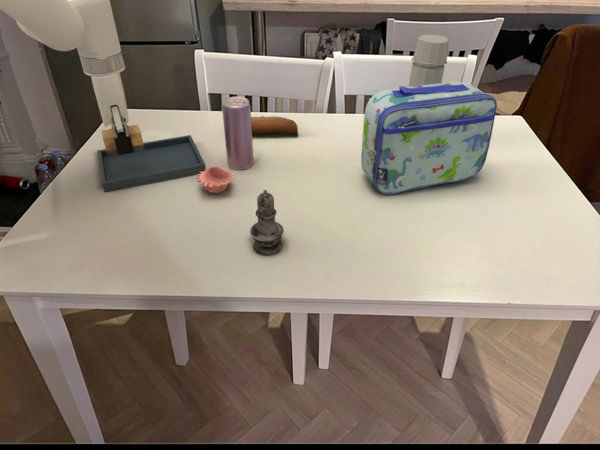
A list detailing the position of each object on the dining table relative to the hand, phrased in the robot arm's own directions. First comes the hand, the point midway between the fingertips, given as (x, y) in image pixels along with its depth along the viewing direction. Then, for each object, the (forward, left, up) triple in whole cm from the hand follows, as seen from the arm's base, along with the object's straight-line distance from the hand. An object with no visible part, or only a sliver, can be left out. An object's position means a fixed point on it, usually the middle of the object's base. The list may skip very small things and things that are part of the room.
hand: (124, 147), depth 99 cm
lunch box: (+58, -26, -7) cm, 64 cm away
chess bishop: (+20, -35, -7) cm, 41 cm away
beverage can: (+24, -5, -7) cm, 25 cm away
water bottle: (+68, -10, -7) cm, 69 cm away
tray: (+5, +2, -6) cm, 8 cm away
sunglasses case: (+34, +9, -7) cm, 36 cm away
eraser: (0, 0, 0) cm, 0 cm away
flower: (+16, -14, -7) cm, 22 cm away
